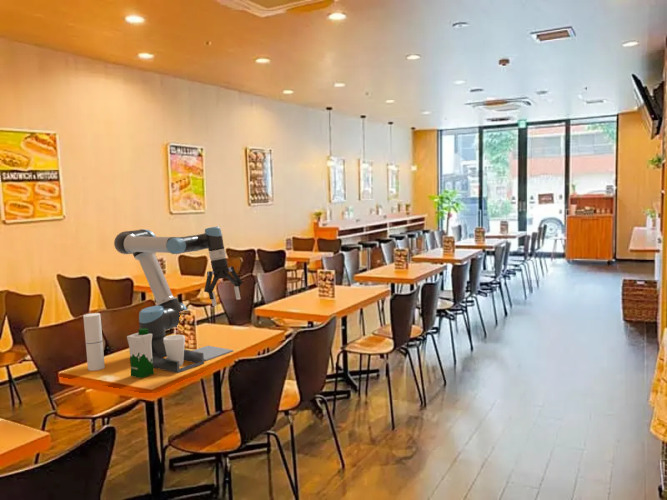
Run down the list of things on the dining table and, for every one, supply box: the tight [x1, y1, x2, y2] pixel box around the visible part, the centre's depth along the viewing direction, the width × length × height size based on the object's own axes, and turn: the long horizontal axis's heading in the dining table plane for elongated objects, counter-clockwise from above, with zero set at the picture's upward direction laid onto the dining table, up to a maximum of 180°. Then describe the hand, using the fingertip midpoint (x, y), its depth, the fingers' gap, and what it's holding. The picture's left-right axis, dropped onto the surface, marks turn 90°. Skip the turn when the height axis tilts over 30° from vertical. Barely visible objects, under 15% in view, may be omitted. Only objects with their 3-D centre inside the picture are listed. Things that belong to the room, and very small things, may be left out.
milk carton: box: [126, 328, 155, 379], centre depth 249 cm, size 9×9×20 cm
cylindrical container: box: [82, 312, 106, 372], centre depth 261 cm, size 7×7×25 cm
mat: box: [192, 345, 234, 362], centre depth 280 cm, size 18×18×1 cm
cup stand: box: [152, 348, 205, 374], centre depth 262 cm, size 20×15×5 cm
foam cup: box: [163, 334, 186, 367], centre depth 262 cm, size 10×9×13 cm
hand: (226, 302), depth 273 cm, fingers open, 13 cm apart
